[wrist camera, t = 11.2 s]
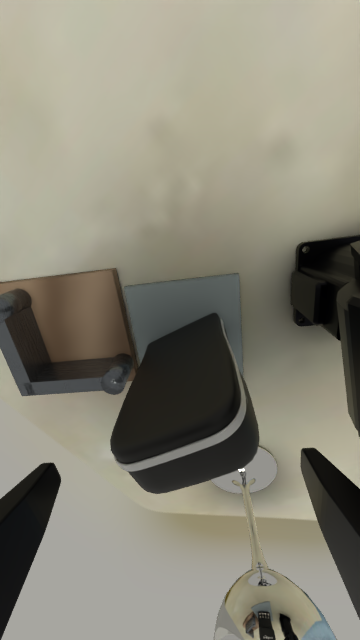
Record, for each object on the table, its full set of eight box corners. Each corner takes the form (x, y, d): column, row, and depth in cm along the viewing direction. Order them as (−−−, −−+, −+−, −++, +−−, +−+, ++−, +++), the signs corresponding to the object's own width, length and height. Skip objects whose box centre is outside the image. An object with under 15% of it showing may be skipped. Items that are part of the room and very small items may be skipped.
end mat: (237, 273, 19) (239, 274, 18) (242, 389, 23) (243, 393, 22) (125, 286, 20) (123, 287, 19) (149, 395, 24) (148, 399, 23)
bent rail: (114, 276, 19) (99, 287, 16) (135, 370, 22) (126, 393, 19) (6, 289, 20) (-28, 301, 17) (41, 377, 23) (18, 400, 20)
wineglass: (195, 479, 28) (192, 989, 9) (223, 432, 25) (303, 1036, 6) (256, 499, 28) (370, 1015, 10) (291, 455, 26) (543, 1067, 7)
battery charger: (166, 376, 22) (139, 517, 12) (144, 343, 21) (92, 466, 10) (238, 345, 21) (282, 476, 10) (218, 307, 19) (245, 410, 9)
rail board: (115, 268, 19) (111, 270, 18) (139, 374, 23) (137, 380, 22) (-10, 283, 20) (-20, 286, 20) (31, 382, 24) (24, 388, 23)
